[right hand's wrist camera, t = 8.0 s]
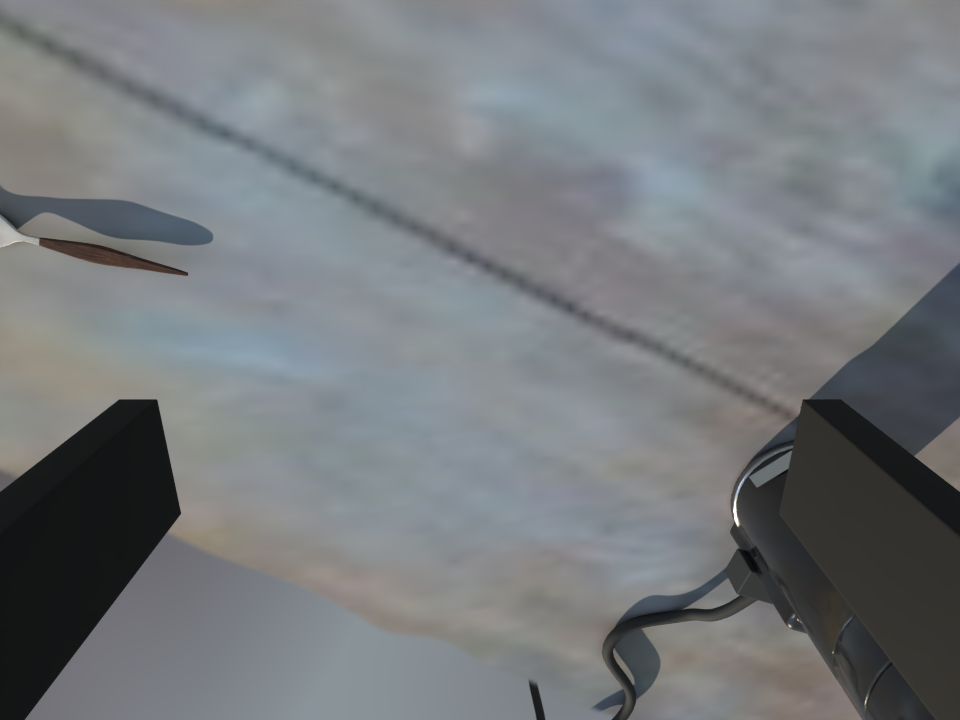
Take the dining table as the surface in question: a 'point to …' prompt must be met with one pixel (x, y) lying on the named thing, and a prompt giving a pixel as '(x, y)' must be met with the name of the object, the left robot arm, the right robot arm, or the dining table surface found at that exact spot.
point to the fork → (83, 250)
